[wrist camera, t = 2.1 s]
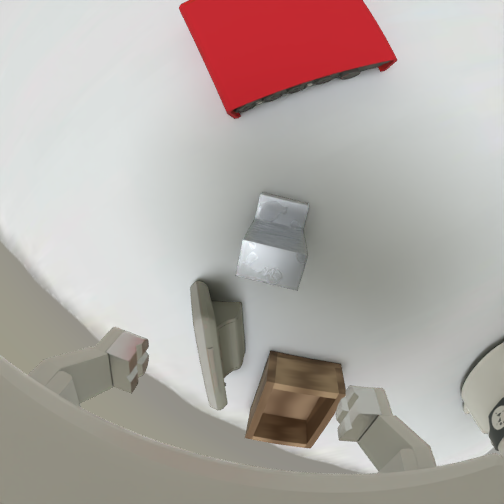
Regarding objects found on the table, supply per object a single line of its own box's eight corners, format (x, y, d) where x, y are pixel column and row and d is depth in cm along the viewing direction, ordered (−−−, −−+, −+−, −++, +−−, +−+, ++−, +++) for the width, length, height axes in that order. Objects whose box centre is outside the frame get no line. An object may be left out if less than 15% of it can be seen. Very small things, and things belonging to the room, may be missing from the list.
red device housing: (235, 119, 28) (225, 112, 24) (191, 23, 25) (176, 6, 20) (384, 71, 24) (399, 58, 20) (329, -21, 21) (333, -42, 16)
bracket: (308, 203, 30) (316, 223, 20) (289, 271, 33) (289, 317, 23) (262, 192, 30) (249, 207, 21) (246, 261, 33) (229, 302, 23)
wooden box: (340, 364, 36) (346, 394, 30) (310, 419, 40) (310, 448, 34) (270, 350, 36) (266, 381, 31) (250, 409, 41) (244, 437, 35)
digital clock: (194, 272, 34) (165, 309, 26) (257, 285, 34) (246, 327, 25) (189, 359, 39) (168, 403, 30) (241, 371, 38) (230, 418, 30)
